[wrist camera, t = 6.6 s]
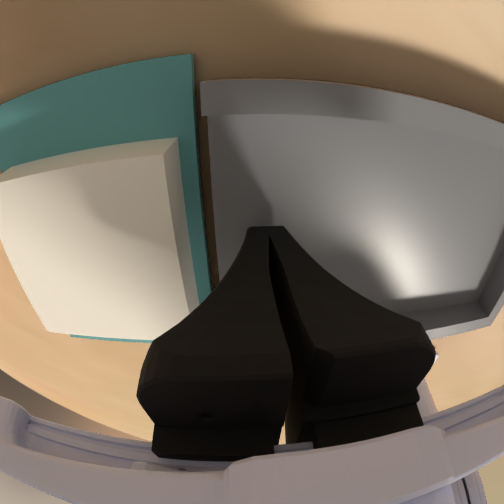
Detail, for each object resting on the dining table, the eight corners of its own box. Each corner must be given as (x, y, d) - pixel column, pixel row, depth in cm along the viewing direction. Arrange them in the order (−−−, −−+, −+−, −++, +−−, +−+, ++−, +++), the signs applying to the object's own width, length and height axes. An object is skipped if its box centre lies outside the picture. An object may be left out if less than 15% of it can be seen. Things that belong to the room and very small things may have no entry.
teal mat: (218, 335, 16) (218, 343, 16) (74, 330, 16) (71, 336, 16) (193, 54, 8) (191, 53, 8) (-3, 107, 8) (-12, 110, 8)
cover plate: (199, 305, 14) (195, 341, 12) (62, 302, 14) (47, 331, 12) (177, 136, 10) (163, 154, 8) (11, 166, 9) (-18, 187, 8)
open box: (473, 300, 16) (490, 325, 14) (225, 324, 16) (224, 361, 14) (532, 135, 9) (562, 151, 7) (209, 79, 9) (199, 81, 7)
